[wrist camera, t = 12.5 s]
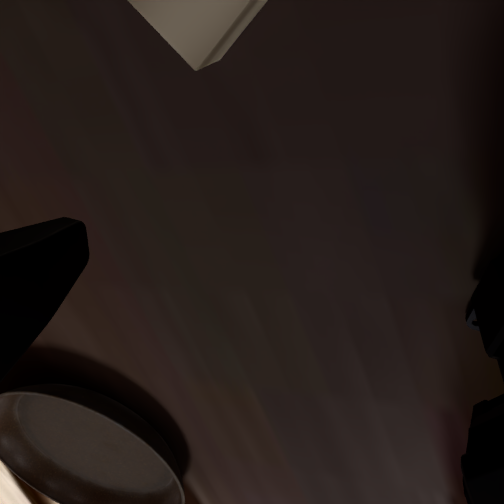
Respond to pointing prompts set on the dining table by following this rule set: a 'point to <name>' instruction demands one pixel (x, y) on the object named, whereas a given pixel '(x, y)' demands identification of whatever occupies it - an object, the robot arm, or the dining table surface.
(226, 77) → the dining table surface
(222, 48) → the block
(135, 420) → the plant saucer
